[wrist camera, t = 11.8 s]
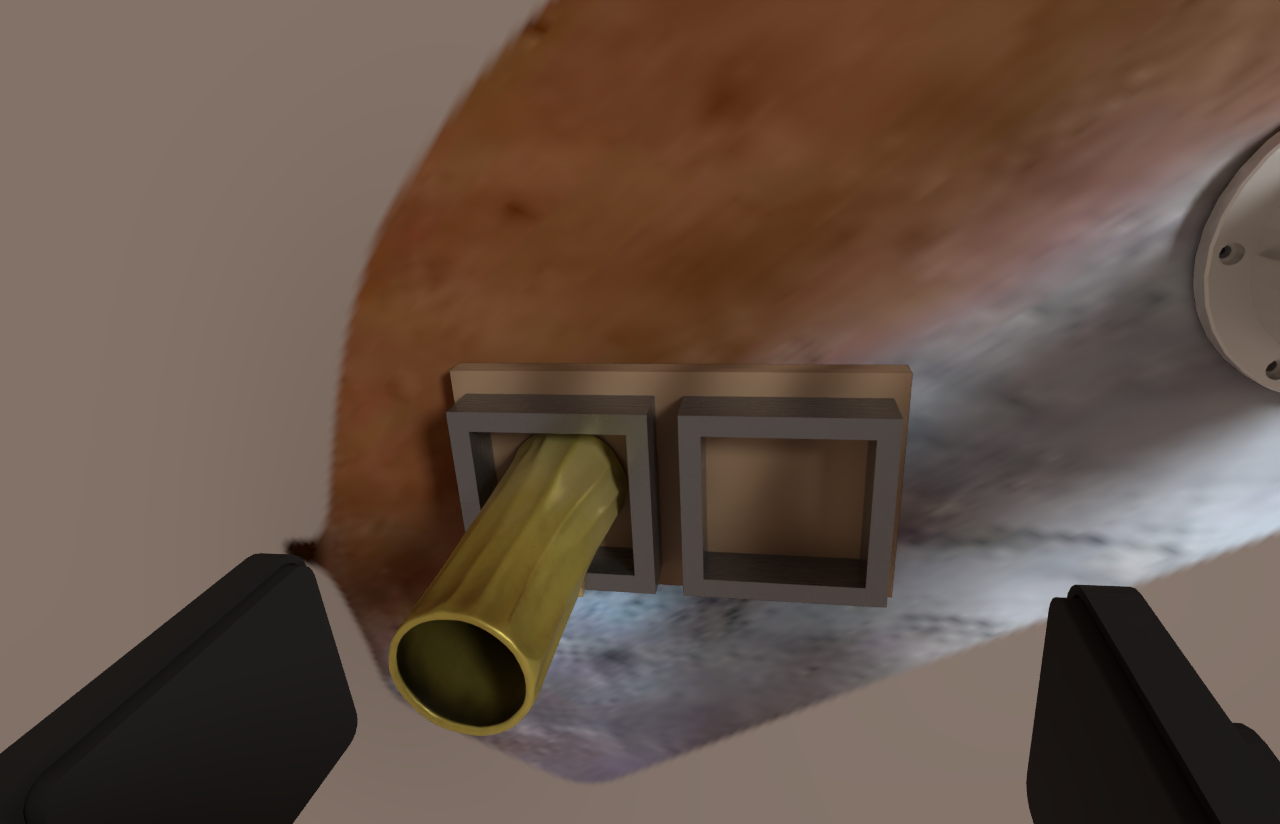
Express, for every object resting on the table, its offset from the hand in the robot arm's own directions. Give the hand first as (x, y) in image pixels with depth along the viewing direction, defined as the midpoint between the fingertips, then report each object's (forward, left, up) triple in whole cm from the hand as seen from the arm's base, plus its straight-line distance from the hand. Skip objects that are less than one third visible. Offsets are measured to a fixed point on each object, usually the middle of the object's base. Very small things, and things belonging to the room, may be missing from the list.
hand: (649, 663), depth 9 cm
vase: (+9, +10, -25) cm, 28 cm away
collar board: (+3, +11, -26) cm, 28 cm away
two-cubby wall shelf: (+3, +11, -25) cm, 27 cm away
